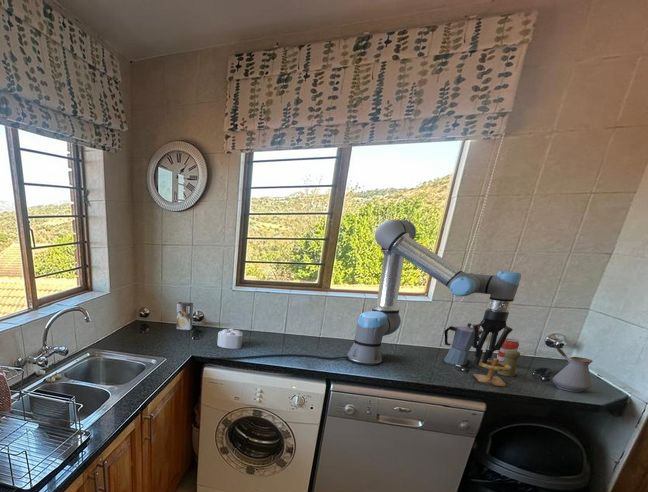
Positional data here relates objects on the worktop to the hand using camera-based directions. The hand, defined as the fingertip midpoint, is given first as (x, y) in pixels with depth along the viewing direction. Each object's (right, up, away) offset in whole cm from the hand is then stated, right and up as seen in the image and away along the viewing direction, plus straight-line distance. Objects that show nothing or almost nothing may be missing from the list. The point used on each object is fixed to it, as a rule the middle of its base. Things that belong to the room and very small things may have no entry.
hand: (479, 364), depth 172 cm
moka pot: (+5, +1, +22) cm, 22 cm away
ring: (+4, 0, -2) cm, 5 cm away
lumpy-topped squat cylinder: (-98, +11, +46) cm, 110 cm away
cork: (+19, -4, +9) cm, 22 cm away
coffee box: (-120, +24, +80) cm, 146 cm away
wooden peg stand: (+4, -7, +1) cm, 9 cm away
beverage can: (+30, +1, +22) cm, 37 cm away
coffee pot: (+33, -9, -1) cm, 34 cm away
